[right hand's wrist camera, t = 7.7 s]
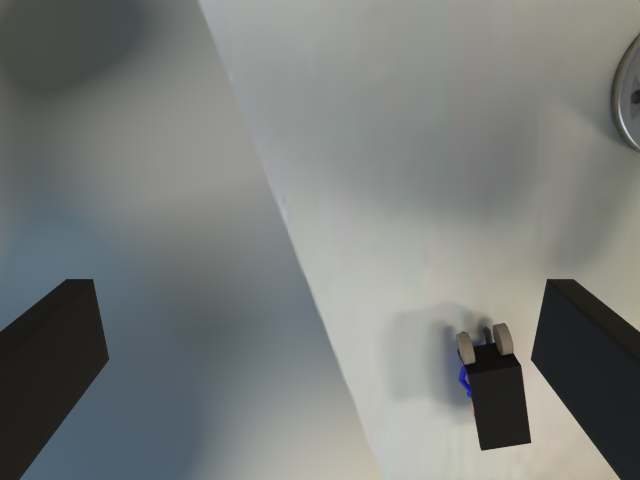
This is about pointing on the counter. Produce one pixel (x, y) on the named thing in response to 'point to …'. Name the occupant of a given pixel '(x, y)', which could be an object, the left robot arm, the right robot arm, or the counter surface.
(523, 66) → the counter surface
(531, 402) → the counter surface
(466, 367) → the figurine character
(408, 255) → the counter surface
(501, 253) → the counter surface
